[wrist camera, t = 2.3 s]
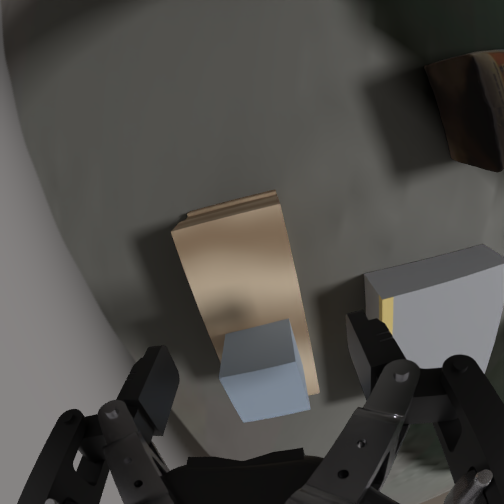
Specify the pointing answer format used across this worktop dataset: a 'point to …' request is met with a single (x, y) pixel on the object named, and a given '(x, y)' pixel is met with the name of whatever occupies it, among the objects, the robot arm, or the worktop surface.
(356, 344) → the robot arm
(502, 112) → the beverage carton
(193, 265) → the tan rectangular block
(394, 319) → the dock
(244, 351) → the pale blue cube
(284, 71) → the worktop surface
